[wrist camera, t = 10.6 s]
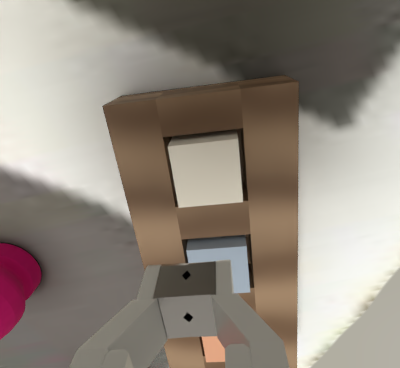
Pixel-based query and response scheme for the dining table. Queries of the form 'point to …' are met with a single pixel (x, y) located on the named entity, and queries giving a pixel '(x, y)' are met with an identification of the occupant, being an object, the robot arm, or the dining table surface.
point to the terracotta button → (213, 349)
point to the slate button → (223, 256)
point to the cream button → (206, 168)
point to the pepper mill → (15, 284)
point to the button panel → (220, 213)
